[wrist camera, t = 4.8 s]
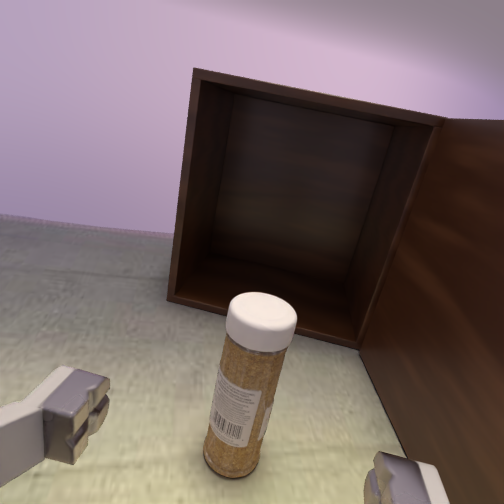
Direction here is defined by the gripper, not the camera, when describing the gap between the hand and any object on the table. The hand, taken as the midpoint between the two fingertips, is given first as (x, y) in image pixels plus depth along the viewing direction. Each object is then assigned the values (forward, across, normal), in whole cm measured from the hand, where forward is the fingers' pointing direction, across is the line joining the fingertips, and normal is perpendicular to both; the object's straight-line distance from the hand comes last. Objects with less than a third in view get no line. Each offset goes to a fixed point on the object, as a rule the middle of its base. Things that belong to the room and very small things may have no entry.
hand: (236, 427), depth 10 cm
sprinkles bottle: (+12, 0, +16) cm, 20 cm away
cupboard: (+40, 0, +16) cm, 43 cm away
